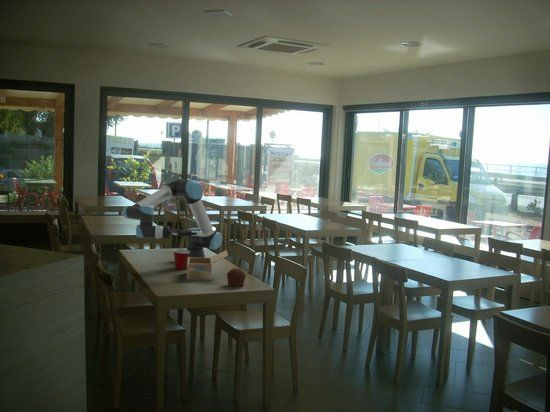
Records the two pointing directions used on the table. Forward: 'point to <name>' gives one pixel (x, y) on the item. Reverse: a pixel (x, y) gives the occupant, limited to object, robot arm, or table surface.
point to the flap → (219, 256)
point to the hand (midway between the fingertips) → (202, 233)
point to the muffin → (236, 277)
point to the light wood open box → (199, 268)
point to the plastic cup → (180, 258)
